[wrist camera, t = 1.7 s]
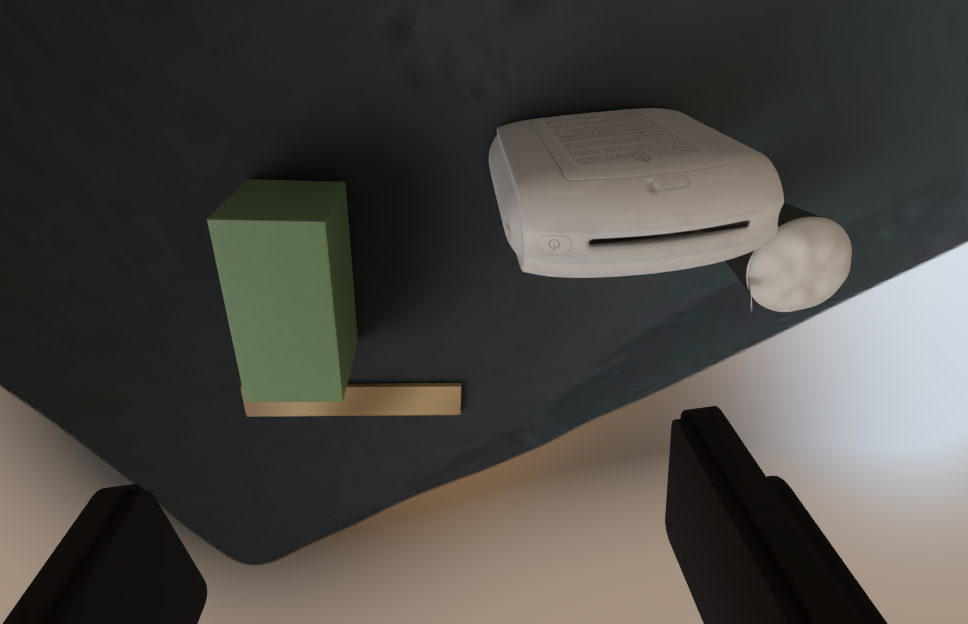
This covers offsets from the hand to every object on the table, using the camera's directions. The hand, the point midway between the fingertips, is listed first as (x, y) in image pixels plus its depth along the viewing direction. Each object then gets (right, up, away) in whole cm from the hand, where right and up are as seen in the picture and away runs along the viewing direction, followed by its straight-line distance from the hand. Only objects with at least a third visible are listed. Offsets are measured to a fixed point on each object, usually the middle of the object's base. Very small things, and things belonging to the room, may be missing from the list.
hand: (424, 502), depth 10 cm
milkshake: (+14, +9, +22) cm, 27 cm away
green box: (-9, +6, +21) cm, 24 cm away
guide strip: (-7, -2, +26) cm, 27 cm away
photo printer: (+6, +12, +19) cm, 24 cm away
